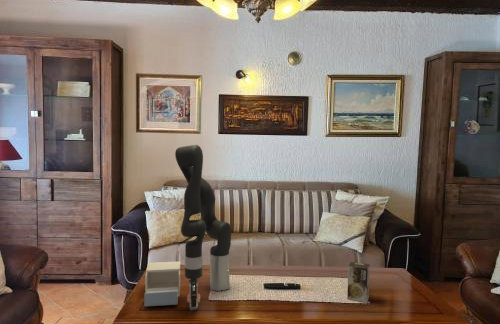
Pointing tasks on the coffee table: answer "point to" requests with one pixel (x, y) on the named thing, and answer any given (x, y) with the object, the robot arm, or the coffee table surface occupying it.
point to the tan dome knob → (193, 295)
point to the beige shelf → (162, 275)
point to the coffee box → (358, 282)
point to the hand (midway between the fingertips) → (193, 303)
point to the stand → (194, 307)
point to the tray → (161, 296)
